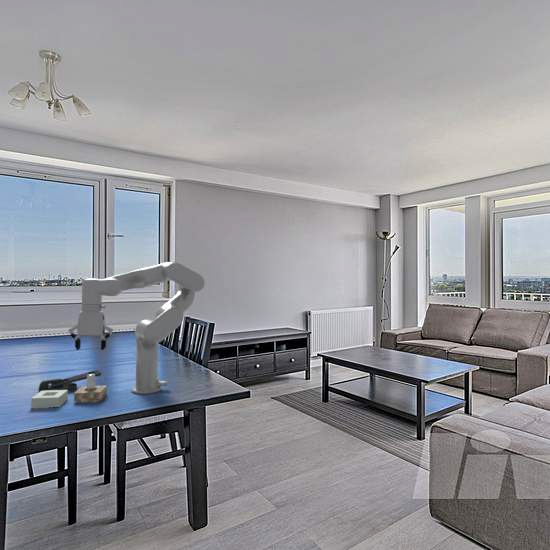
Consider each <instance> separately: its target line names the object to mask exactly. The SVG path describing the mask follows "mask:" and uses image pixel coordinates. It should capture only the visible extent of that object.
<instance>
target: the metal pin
mask: <svg viewBox="0 0 550 550" xmlns="http://www.w3.org/2000/svg"><path fill="white" fill-rule="evenodd" d="M86 386H87V391H95V386H96V377H95V374H94V373H93V374H88V375H87V379H86Z"/></svg>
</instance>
